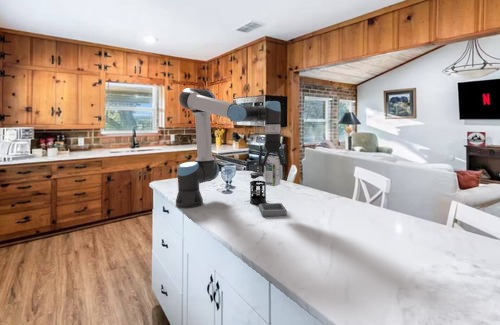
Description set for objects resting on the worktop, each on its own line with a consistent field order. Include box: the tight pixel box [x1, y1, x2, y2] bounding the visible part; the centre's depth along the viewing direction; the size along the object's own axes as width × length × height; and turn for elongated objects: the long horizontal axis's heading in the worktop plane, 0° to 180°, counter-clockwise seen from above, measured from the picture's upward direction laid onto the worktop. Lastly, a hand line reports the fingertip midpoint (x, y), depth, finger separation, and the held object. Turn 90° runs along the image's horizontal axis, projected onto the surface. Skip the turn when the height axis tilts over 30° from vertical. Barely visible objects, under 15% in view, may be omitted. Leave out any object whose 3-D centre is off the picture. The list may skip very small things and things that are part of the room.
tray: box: [258, 202, 288, 218], centre depth 147 cm, size 12×12×3 cm
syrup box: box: [264, 155, 281, 187], centre depth 144 cm, size 6×6×14 cm
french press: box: [249, 162, 267, 206], centre depth 163 cm, size 12×9×23 cm
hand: (272, 178), depth 144 cm, fingers closed on syrup box, 8 cm apart
